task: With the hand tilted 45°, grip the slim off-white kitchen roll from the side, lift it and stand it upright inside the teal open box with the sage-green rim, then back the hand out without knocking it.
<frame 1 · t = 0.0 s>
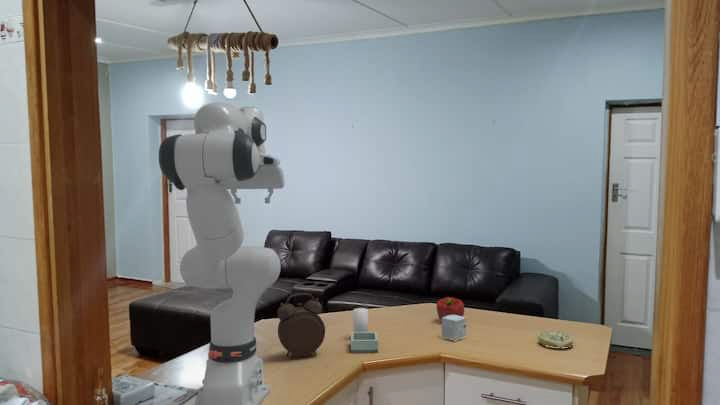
hand: (252, 203, 167), 48 cm above the kitchen counter, tool pointing down, fingers open, 8 cm apart
alarm clock: (301, 356, 166), on the kitchen counter
vegetable: (450, 322, 199), on the kitchen counter
skincare box: (453, 338, 181), on the kitchen counter
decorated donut: (555, 346, 173), on the kitchen counter
teal open box: (364, 348, 172), on the kitchen counter
kitchen roll: (360, 338, 182), on the kitchen counter
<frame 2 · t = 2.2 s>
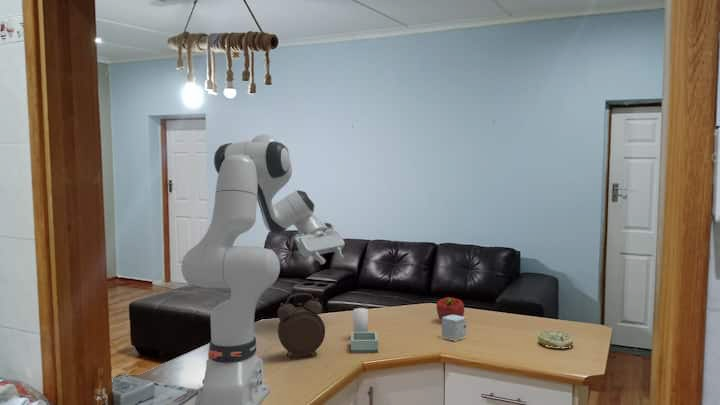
hand: (332, 261, 188), 26 cm above the kitchen counter, tool tilted 45°, fingers open, 8 cm apart
nothing on the kitchen counter moved.
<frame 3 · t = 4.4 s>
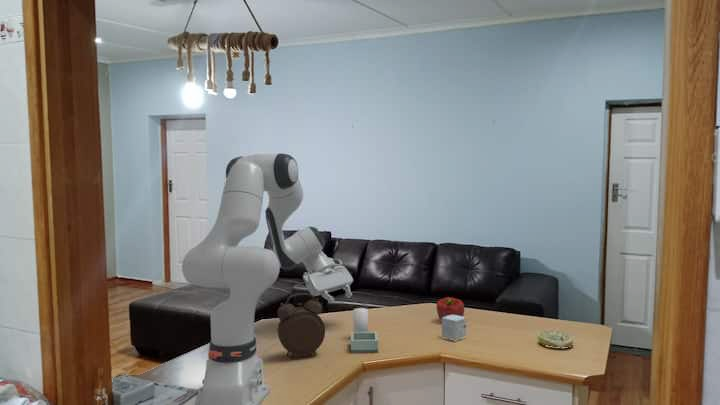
hand: (341, 299, 186), 12 cm above the kitchen counter, tool tilted 45°, fingers open, 8 cm apart
nothing on the kitchen counter moved.
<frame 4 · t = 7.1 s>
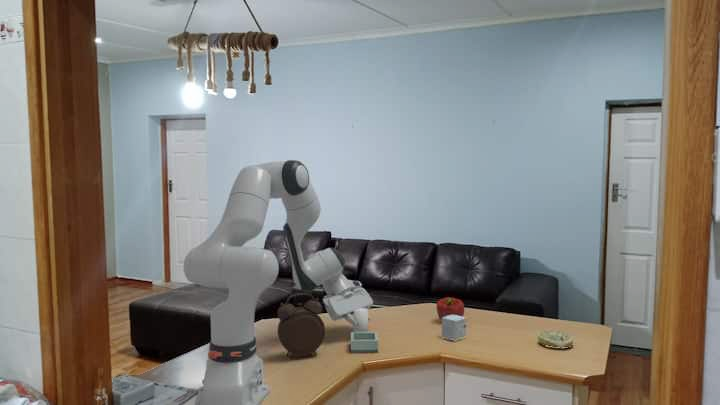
hand: (362, 323, 181), 5 cm above the kitchen counter, tool tilted 45°, fingers closed on kitchen roll, 5 cm apart
kitchen roll: (361, 338, 182), on the kitchen counter, touching gripper
everything else where it was.
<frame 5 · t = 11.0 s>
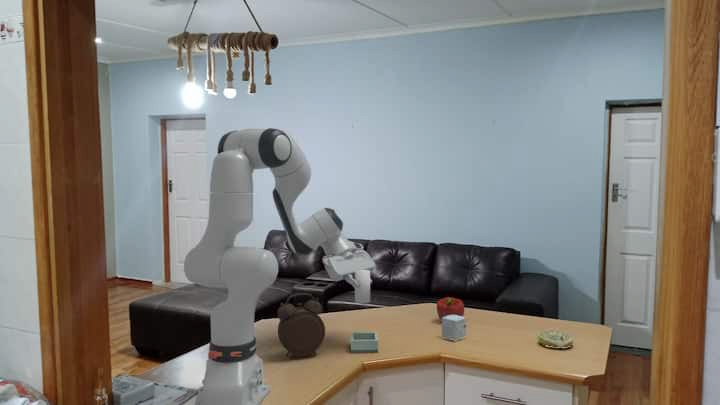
hand: (364, 285, 171), 21 cm above the kitchen counter, tool tilted 45°, fingers closed on kitchen roll, 5 cm apart
kitchen roll: (362, 301, 172), point 15 cm above the kitchen counter, touching gripper
everything else where it was.
when the fingers open (8 cm above the kitchen counter, at t = 14.9 s): kitchen roll drops 1 cm, resting on teal open box.
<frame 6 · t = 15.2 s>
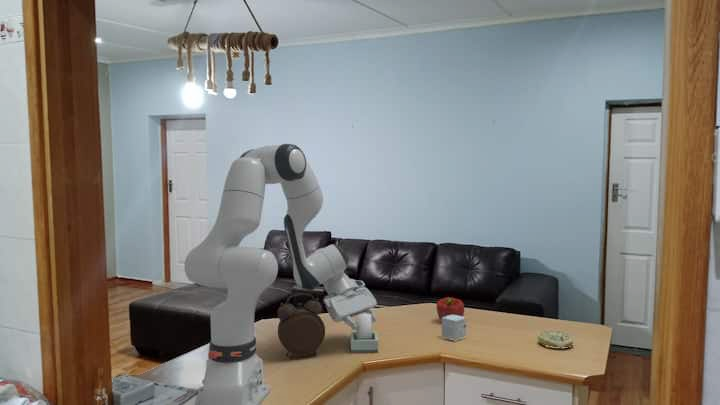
hand: (365, 325, 171), 8 cm above the kitchen counter, tool tilted 45°, fingers open, 8 cm apart
kitchen roll: (364, 345, 172), point 1 cm above the kitchen counter, touching teal open box
everything else where it was.
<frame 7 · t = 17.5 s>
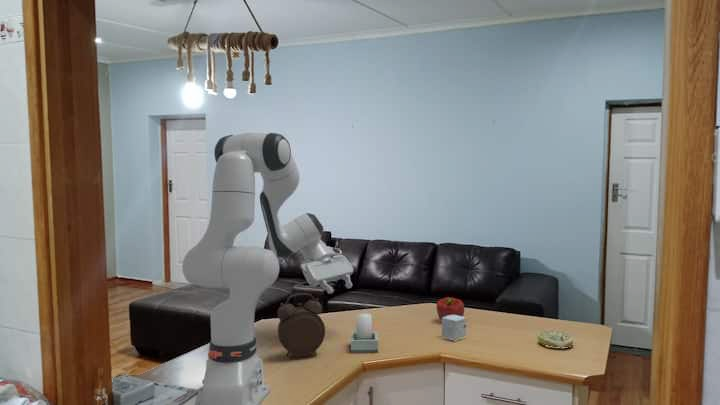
hand: (341, 289, 176), 18 cm above the kitchen counter, tool tilted 45°, fingers open, 8 cm apart
nothing on the kitchen counter moved.
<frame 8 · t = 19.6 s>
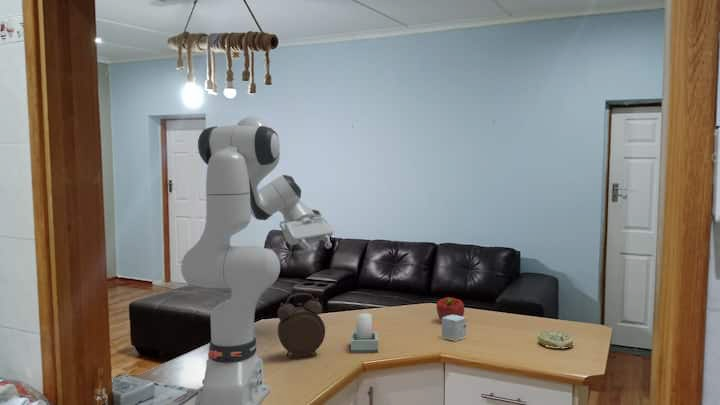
hand: (320, 249, 179), 31 cm above the kitchen counter, tool tilted 45°, fingers open, 8 cm apart
nothing on the kitchen counter moved.
at the end: kitchen roll 0.0 cm off-centre on the teal open box, point 1.0 cm above the teal open box's base; kitchen roll tilted 0°; the gripper is holding nothing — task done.
